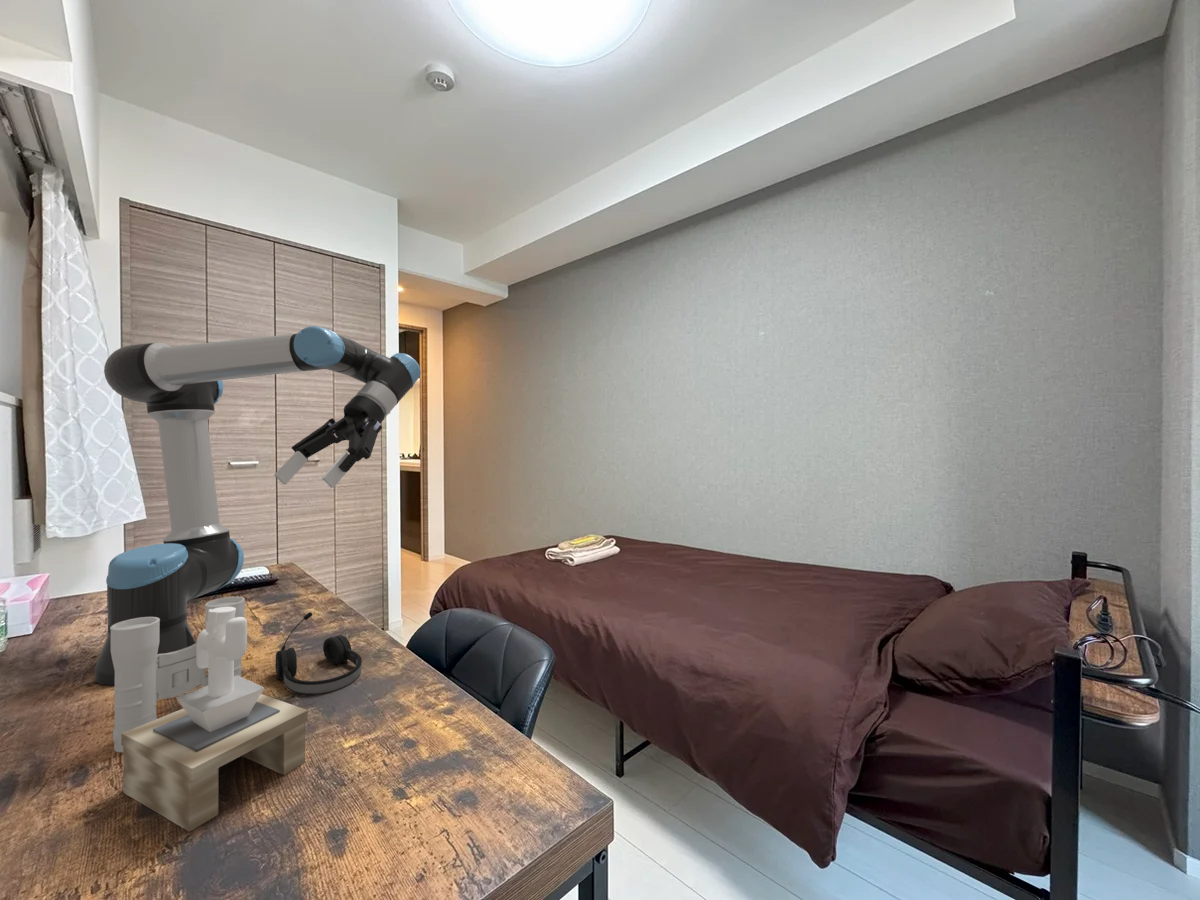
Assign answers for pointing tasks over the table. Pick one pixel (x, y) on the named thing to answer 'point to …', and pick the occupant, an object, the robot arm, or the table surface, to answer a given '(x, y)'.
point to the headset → (334, 652)
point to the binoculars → (154, 669)
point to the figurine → (221, 673)
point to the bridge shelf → (206, 757)
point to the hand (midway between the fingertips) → (302, 481)
